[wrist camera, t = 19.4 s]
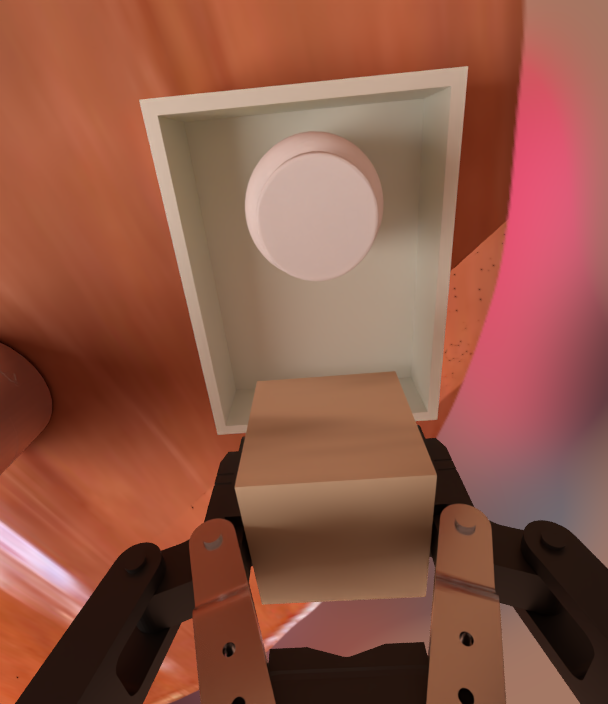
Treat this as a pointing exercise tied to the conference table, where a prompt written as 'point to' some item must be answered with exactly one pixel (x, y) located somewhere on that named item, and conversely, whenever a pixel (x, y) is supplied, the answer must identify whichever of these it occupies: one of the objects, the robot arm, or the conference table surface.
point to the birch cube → (336, 490)
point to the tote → (302, 295)
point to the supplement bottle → (314, 205)
